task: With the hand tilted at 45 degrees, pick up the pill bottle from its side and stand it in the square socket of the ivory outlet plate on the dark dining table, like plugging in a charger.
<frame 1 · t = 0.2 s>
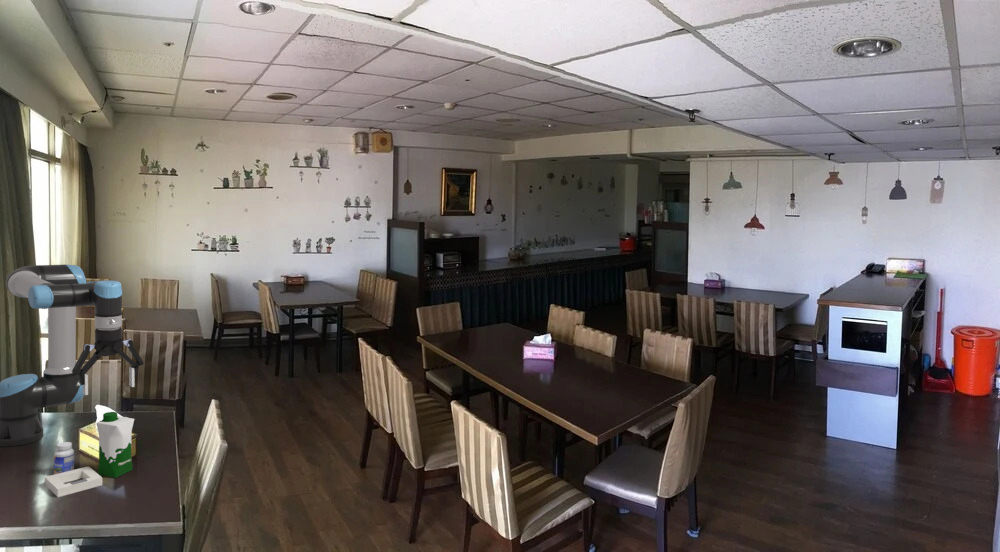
hand: (109, 389, 202), 28 cm above the table, tool pointing down, fingers open, 13 cm apart
pill bottle: (64, 473, 200), on the table
milk carton: (115, 473, 203), on the table
outlet plate: (73, 484, 192), on the table
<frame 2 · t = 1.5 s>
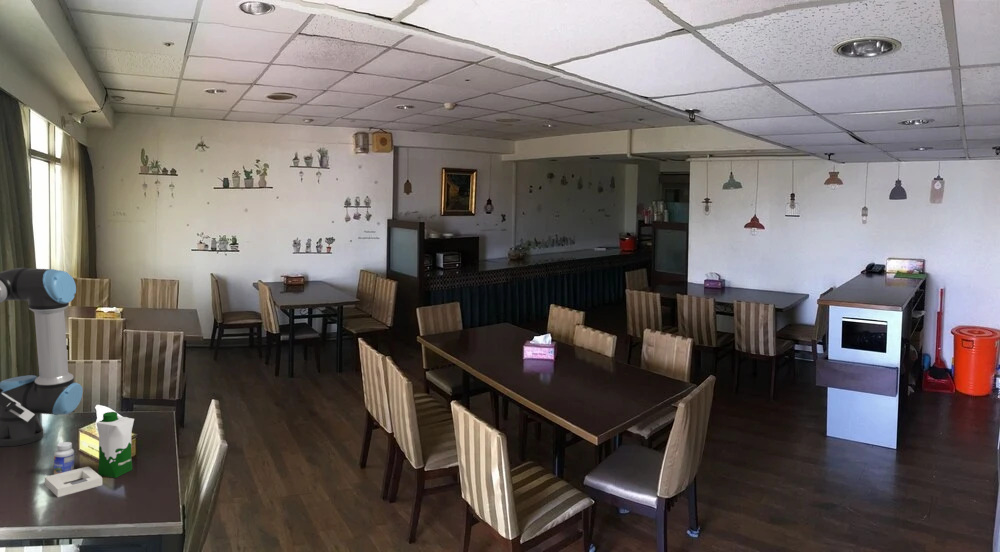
hand: (24, 412, 190), 23 cm above the table, tool tilted 45°, fingers open, 13 cm apart
nothing on the table moved.
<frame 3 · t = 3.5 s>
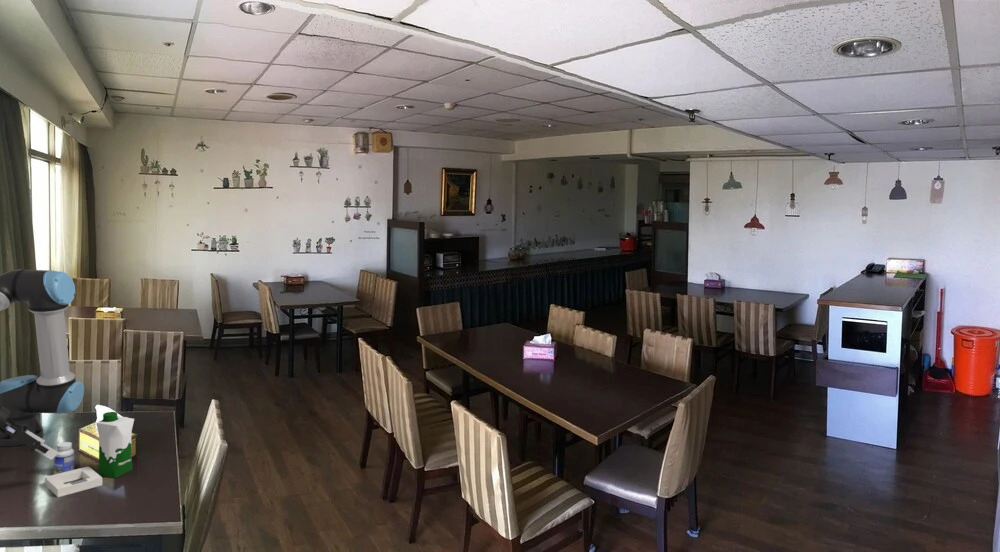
hand: (47, 449, 195), 9 cm above the table, tool tilted 45°, fingers open, 13 cm apart
nothing on the table moved.
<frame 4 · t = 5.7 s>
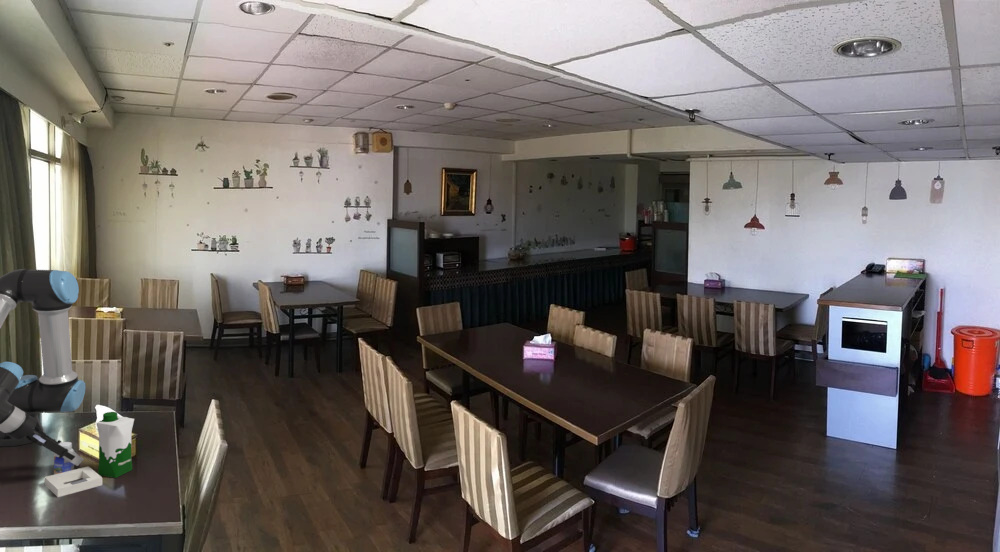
hand: (77, 459, 203), 3 cm above the table, tool tilted 45°, fingers closed on pill bottle, 5 cm apart
pill bottle: (64, 472, 201), on the table, touching gripper
everything else where it was.
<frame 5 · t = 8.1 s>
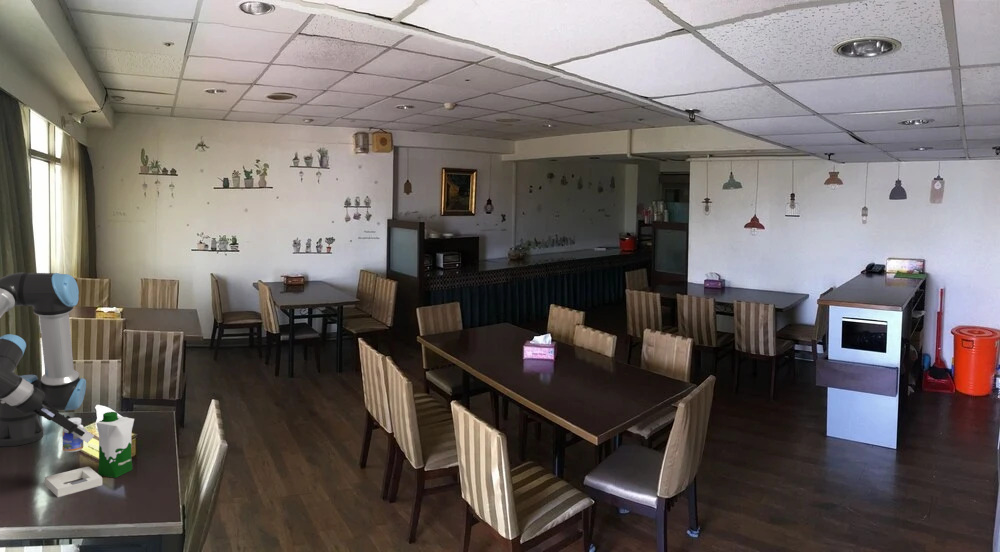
hand: (86, 436, 194), 15 cm above the table, tool tilted 45°, fingers closed on pill bottle, 5 cm apart
pill bottle: (73, 450, 191), point 12 cm above the table, touching gripper
everything else where it was.
when the fingers open (5 cm above the table, at t = 10.6 s): pill bottle drops 1 cm, resting in outlet plate.
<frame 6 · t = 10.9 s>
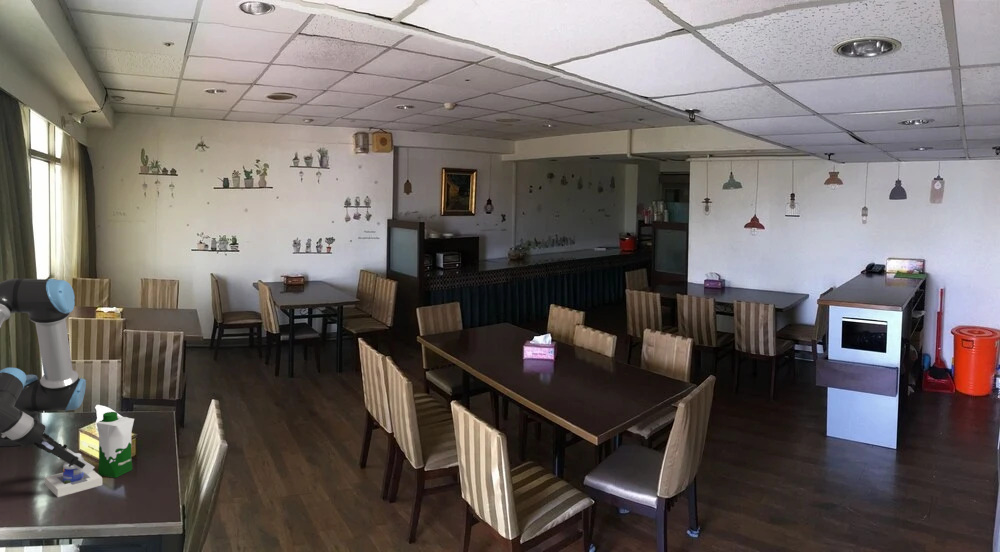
hand: (85, 466, 195), 5 cm above the table, tool tilted 45°, fingers open, 8 cm apart
pill bottle: (73, 485, 192), resting in outlet plate
everything else where it was.
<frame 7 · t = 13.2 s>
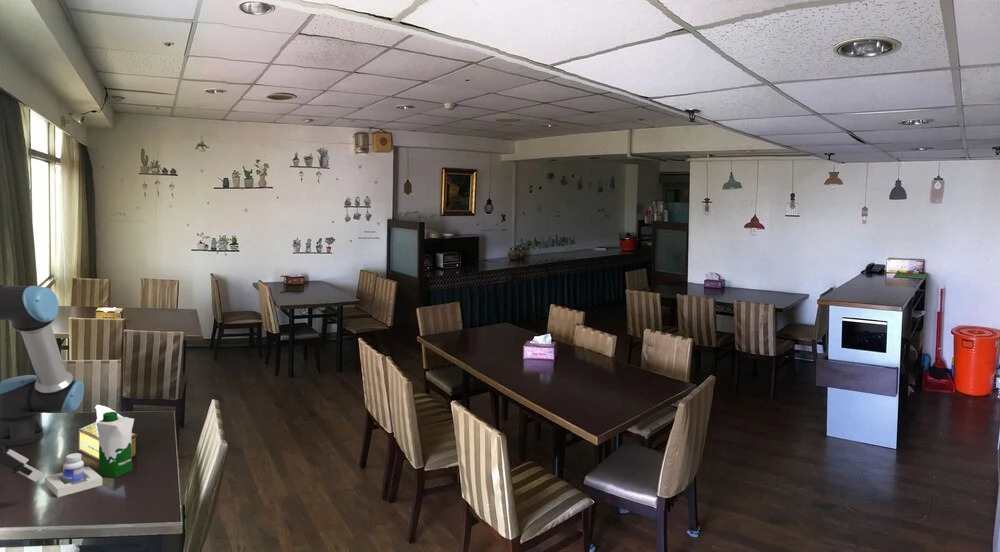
hand: (32, 470, 183), 8 cm above the table, tool tilted 45°, fingers open, 13 cm apart
nothing on the table moved.
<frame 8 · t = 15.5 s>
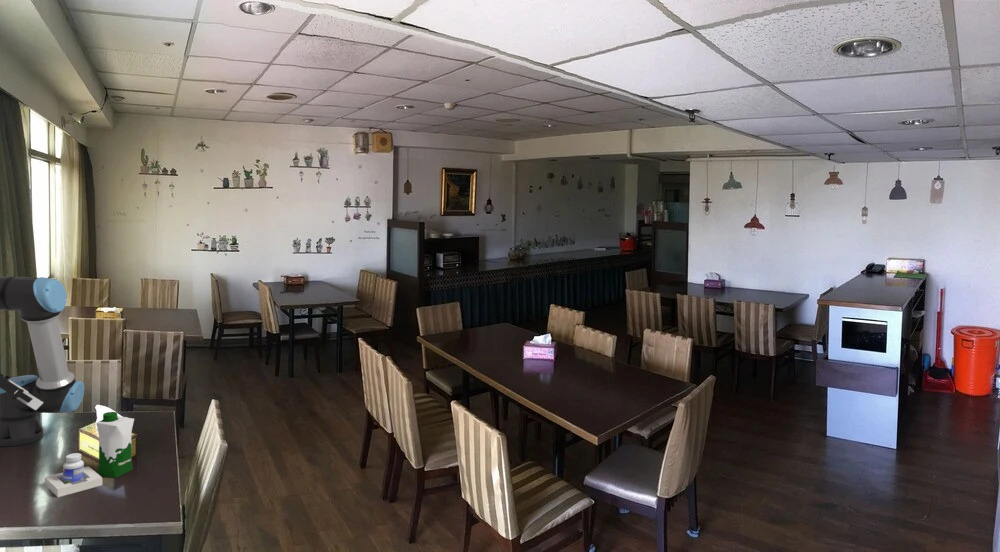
hand: (32, 400, 181), 30 cm above the table, tool tilted 45°, fingers open, 13 cm apart
nothing on the table moved.
at the end: pill bottle 0.1 cm from the outlet plate (horizontally); pill bottle tilted 0°; pill bottle touching table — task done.
